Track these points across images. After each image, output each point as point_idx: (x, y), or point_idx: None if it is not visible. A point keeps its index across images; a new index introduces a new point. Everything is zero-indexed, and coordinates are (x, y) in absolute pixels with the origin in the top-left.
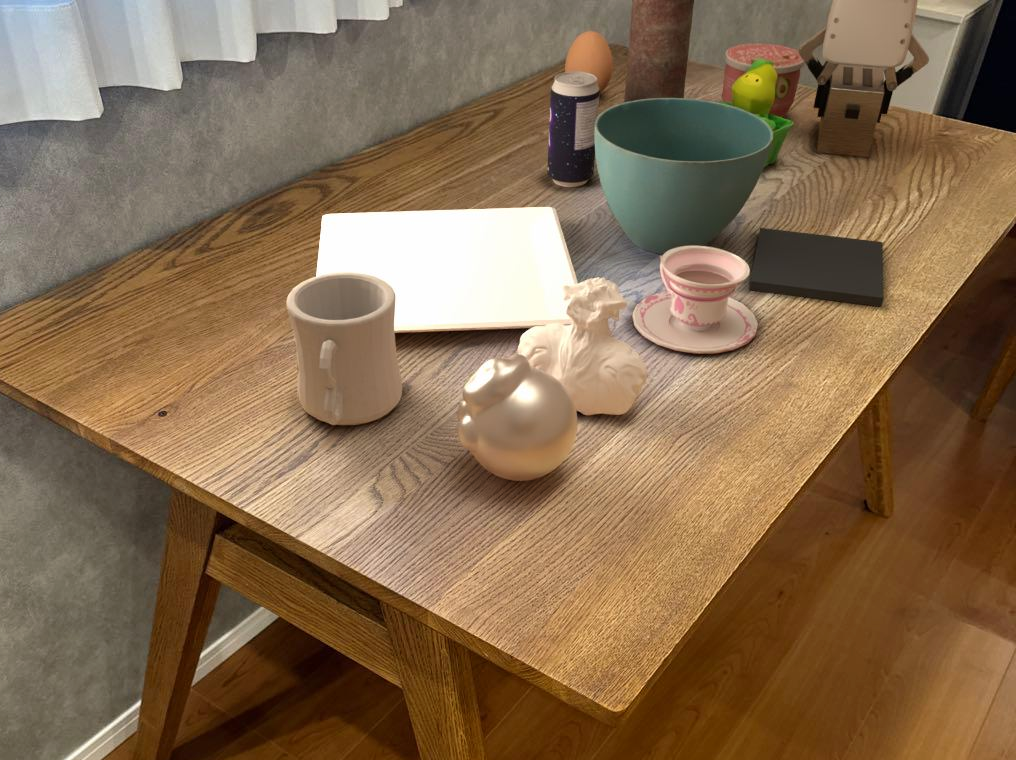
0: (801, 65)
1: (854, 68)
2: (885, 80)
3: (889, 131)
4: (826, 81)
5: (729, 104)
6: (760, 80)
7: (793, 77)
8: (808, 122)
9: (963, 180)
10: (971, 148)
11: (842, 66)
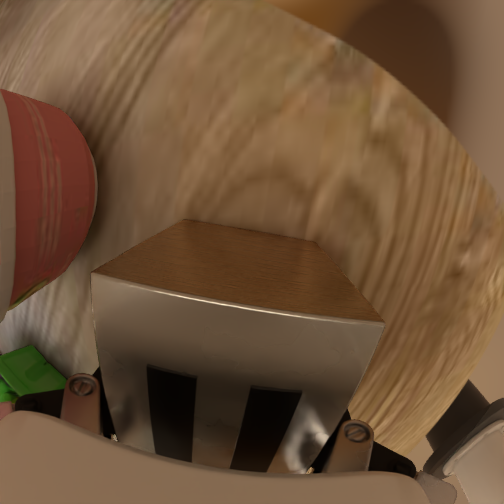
0: (6, 277)
1: (203, 387)
2: (325, 448)
3: (365, 260)
4: (112, 436)
5: (3, 398)
6: None
7: (22, 284)
8: (155, 213)
9: (387, 439)
10: (466, 329)
11: (140, 355)
